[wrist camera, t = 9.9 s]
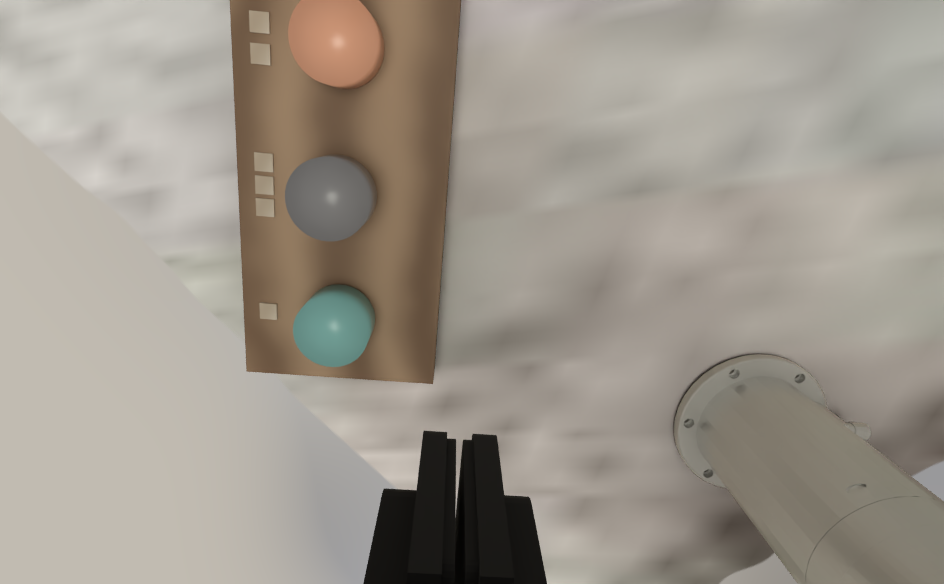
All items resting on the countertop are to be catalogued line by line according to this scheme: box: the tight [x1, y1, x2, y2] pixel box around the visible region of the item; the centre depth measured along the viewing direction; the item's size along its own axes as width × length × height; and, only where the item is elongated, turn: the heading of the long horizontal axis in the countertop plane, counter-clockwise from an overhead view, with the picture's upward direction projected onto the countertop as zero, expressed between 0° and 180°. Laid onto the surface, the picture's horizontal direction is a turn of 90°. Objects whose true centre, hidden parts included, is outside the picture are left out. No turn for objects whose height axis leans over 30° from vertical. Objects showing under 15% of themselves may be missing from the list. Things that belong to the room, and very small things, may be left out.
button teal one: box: [293, 284, 375, 367], centre depth 36 cm, size 5×5×3 cm
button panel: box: [230, 0, 461, 384], centre depth 37 cm, size 14×28×3 cm, turn 175°
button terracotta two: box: [288, 0, 384, 89], centre depth 31 cm, size 5×5×3 cm
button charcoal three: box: [285, 155, 377, 241], centre depth 33 cm, size 5×5×3 cm
